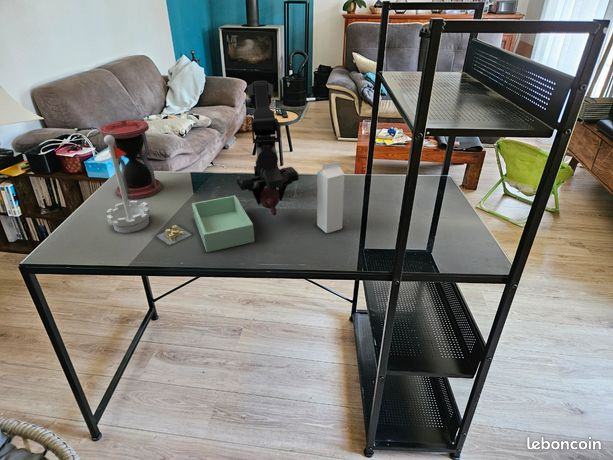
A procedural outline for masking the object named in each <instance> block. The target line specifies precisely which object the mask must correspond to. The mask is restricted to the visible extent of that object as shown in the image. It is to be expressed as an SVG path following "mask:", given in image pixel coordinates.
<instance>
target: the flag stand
mask: <svg viewBox="0 0 613 460" xmlns="http://www.w3.org/2000/svg"><path fill="white" fill-rule="evenodd" d="M103 137H104V138H103V141H104V143H105V145H107V147H108V150H109V154H110V158H111V162H112V167H113V169H114V173H115V177H116V180H117V185H118V186H119V188H120V192H121V196H122V197H121V199H122V202H119V203H116V204H114V207H115V208H114V209H113V208H108V209H107V210H106V219H107V222H108V224H110V225H112V226H113V229H114V231H116V232H118V233H122V234H123V233H124V234H125V233H134V232H137V231H140V230H142V229H145V228H146V227H147V226H148V225H149V224H150V219H149V217H150V216H151V209H150V206H149V204H148V203H147V202H145V201H143V202H141V203H139V200H130V201H129V199H128V198H127V194H126V191H125V187H124V183H123V179H122V175H121V172H122V170H121V168H119V164H118V160H117V159H118V158H120V157H121V158H122V157H124V155H126V153H124V152H123V151H121V150H120V149H118V148H116V147H115V146H114V145H113V144H114V142H115V139H114V137H113V136H111V135H107V136H103Z"/></svg>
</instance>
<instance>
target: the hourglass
mask: <svg viewBox="0 0 613 460" xmlns="http://www.w3.org/2000/svg"><path fill="white" fill-rule="evenodd" d="M149 128H150V126H149V123H148V122H147V121H144V120H140V119H126V120H118V121H117V120H116V121H112V122H109V123H106V124H104V125H102V126H101V127H100V128H99V133H100V135H101V136H102V137H105V136H107V135H111V136H113V137H114V139H115V142H114V144H113V145H114V146H115V147H116V148H118V149H120V150H121V151H123V152H124V153H126V155H124V156H123V157H124V158H126V159H127V160H128V161H127V162H125V160H124V159H123V158H122V157H120V158H118V159H117V160H118V164H119V168H120V167H121V168H120V169H121V175H122V179H123V183H124V187H125V191H126V194H127V198H128V200H135V199H136V200H137V199H142V198H143V199H144V198H147V197H150V196H152V195H155V194H157V193H158V192H159V191H160V190H161V189H162V183H161V181H160V180H159V179H157V178H156V177H155V172H154V169H153V166H152V165H151V164H150V163H149V160H148V156H149V153H150V149H149V144H148V140H147V135H146V132H147V131H149ZM143 147H144V150H145V152H144V154H143ZM137 157H139V159H141V160H142V162H143V163H142V162H141V161H140V160H138V159H137ZM116 194H117V195H118V197H120V198H122V196H121V192H120V188H119V185H118V186H117V187H116Z"/></svg>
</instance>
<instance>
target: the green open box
mask: <svg viewBox="0 0 613 460" xmlns="http://www.w3.org/2000/svg"><path fill="white" fill-rule="evenodd" d="M191 207H192V212H193V218H194V221H195V224H196V227H197V230H198V232H199V236H200V238H201V241H202V243H203V246H204V250H205V252H206V253H211V252H214V251H218V250H219V251H220V250H223V249H229V248H233V247H236V246H242V245H247V244H252V243H254V242H255V231H254V223H253V222H252V220H251V219H250V217H249V216H248V214H247V212H246V210H245V209H244V207H243V206H242V204H241V202H240V200H239V199H238V198H237V196H236V195H230V196H225V197H218V198H214V199H208V200H202V201H197V202H192V203H191Z"/></svg>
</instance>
